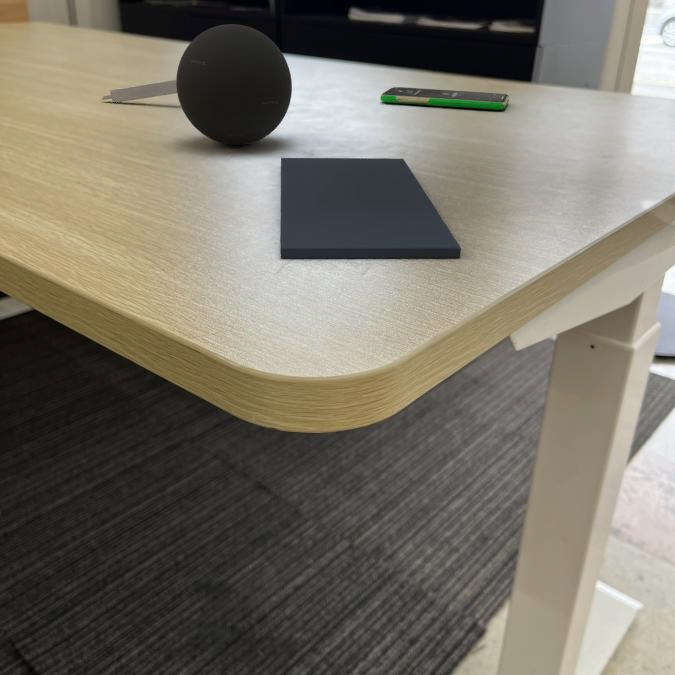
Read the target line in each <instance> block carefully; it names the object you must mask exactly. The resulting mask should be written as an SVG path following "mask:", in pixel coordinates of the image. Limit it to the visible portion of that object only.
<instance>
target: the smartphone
mask: <svg viewBox="0 0 675 675" xmlns="http://www.w3.org/2000/svg"><path fill="white" fill-rule="evenodd" d="M379 99H380V101H381V102H383V103H392V104H407V105H420V106H421V105H423V106H434V107H450V108H465V109H481V110H495V111H498V110H499V111H500V110H503V109H505V108H506V107H507V105H508V104H509V102H510V95H509V94H506V93H497V92H483V91H482V92H481V91H469V90H468V91H467V90H466V91H465V90H451V89H450V90H449V89H437V88H436V89H435V88H422V87H421V88H419V87H404V86H397V87H396V86H394V87H390V88H389V89H388V90H386V91H384V92H382V93H381V95H380V97H379Z"/></svg>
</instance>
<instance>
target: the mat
mask: <svg viewBox="0 0 675 675" xmlns="http://www.w3.org/2000/svg"><path fill="white" fill-rule="evenodd" d="M279 248H280V258H281V259H407V258H408V259H413V258H414V259H422V258H423V259H427V258H428V259H432V258H433V259H437V258H438V259H439V258H441V259H442V258H443V259H448V258H449V259H450V258H453V259H455V258H457V259H459V258H461V252H462V247H461V246H460V244H459V243H458V241H457V240H456V238H455V236H454V235H453V233H452V232H451V230H450V229H449V227H448V226H447V224H446V223H445V221H444V219H443V218H442V216H441V215H440V213H439V212H438V210H437V209H436V207H435V205H434V204H433V203H432V201H431V199H430V198H429V196H428V195H427V193H426V192H425V190H424V188H423V187H422V185H421V184H420V182H419V181H418V179H417V178H416V176H415V174H414V173H413V171H412V170H411V168H410V167H409V165H408V164H407V162H406V160H405V159H404V158H390V157H389V158H388V157H387V158H385V157H383V158H380V157H379V158H378V157H377V158H372V157H371V158H369V157H367V158H365V157H361V158H360V157H344V158H343V157H281V158H280V246H279Z"/></svg>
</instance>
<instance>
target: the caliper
mask: <svg viewBox="0 0 675 675" xmlns="http://www.w3.org/2000/svg"><path fill="white" fill-rule="evenodd" d="M175 94H176V95H177V87H176V79H170V80H163V81H159V82H151V83H150V82H149V83H145V84H139V85H132V86H127V87H120V88H114V89H110V90H109V94H107V95H103V96H102V97H101V100H102V101H107V100H111V101H112V103H113V102H116V103H115V104H117V102H118V103H124V102H131V101H136V100H141V99H142V100H143V99H149V98H155V97H162V96H168V95H175Z"/></svg>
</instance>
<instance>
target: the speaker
mask: <svg viewBox="0 0 675 675" xmlns="http://www.w3.org/2000/svg"><path fill="white" fill-rule="evenodd" d="M175 78H176V79H175V80H176V87H177V93H176V95H177V99H178V101H179V105H180V107H181V109H182V112H183V114H184V115H185V117H186V118H187V120H188V121H189V122H190V124H191V125H192V127H194V128H195V129H196V130H197V131H198V132H199V133H201V134H202V135H203V136H205V137H206V138H208V139H210V140H212V141H214V142H217V143H221V144H224V145H229V146H244V145H245V146H246V145H249V144H253V143H256V142H259V141H261V140H263V139H265V138H266V137H268V136H269V135H270V134H271V133H273V132H274V131H275V130H276V129H277V128H278V127H279V126H280V124H281V123H282V121H283V120H284V118H285V116H286V115H287V113H288V111H289V107H290V104H291V100H292V94H293V83H292V75H291V70H290V67H289V64H288V62H287V59H286V58H285V56H284V54H283V52H282V50H280V48H279V46H278V45H277V44H276V43H275V42H274V41H273V40H272V39H271V38H269V37H268V36H267V35H266V34H264V33H263V32H261V31H259V30H257V29H255V28H254V27H250V26H247V25H242V24H237V23H236V24H235V23H234V24H233V23H229V24H220V25H217V26H216V25H215V26H213V27H210V28H208V29H206V30H204V31H203V32H201V33H200V34H199V35H197V36H196V37H195V38H193V39H192V40H191V42H190V43H189V44H188V45H187V47H186V48H185V50H184V52H182V55H181V57H180V59H179V63H178V66H177V70H176V77H175Z"/></svg>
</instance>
